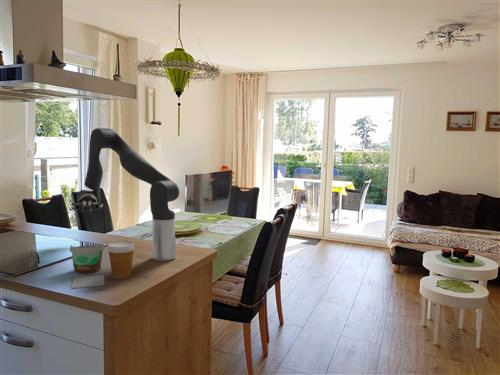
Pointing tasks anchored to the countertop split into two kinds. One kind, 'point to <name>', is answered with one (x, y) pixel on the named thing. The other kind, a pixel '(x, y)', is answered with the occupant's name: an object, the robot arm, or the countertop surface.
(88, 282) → the mat
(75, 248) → the food container
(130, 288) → the countertop surface
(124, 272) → the disposable coffee cup
